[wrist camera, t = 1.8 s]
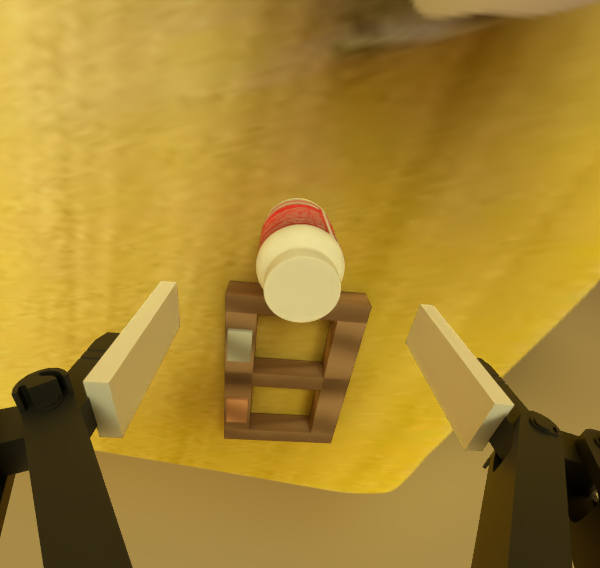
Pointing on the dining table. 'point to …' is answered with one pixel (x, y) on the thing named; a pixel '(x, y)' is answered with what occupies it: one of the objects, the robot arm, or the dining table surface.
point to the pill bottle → (299, 261)
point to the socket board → (287, 369)
